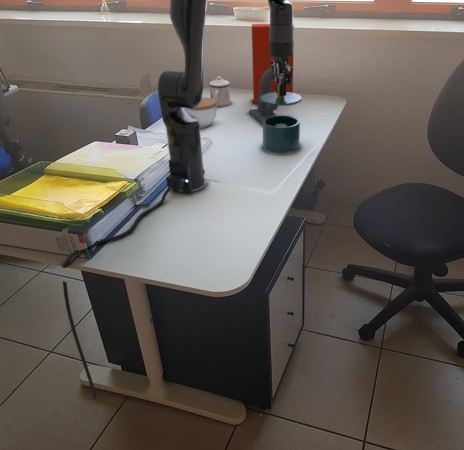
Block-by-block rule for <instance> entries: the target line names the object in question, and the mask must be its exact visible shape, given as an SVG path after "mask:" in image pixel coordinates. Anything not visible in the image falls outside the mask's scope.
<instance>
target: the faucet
mask: <svg viewBox="0 0 464 450" xmlns="http://www.w3.org/2000/svg"><path fill="white" fill-rule="evenodd" d="M273 80H274V79H273V75H272V70H271V68H270V69H268V70H267V71H266V72H265V73H264V74H263V75H262V77H261V80H260V87H259V88H260V94H259V95H258V104H257V108H253V109H252V108H251V109H250V110H248V115H250V116H251V117H252V118H254V120H256V121H257V122H258V123H259V124H260V125H261V126H263V120H264V119H265V118H267V117H271V116H278V115H277V114H276V113H274V112H275V111H276V110H277V109H278V108H279V105H270V104H266V103H264V102H262V101H261V96H262V95H264V94H267V93H271V82H272V81H273ZM291 84H292V78H291V80H290V84H286V85H291Z"/></svg>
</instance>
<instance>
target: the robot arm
mask: <svg viewBox="0 0 464 450" xmlns="http://www.w3.org/2000/svg"><path fill="white" fill-rule="evenodd" d="M267 3H268V6H269V24H270V29H269V54H270V55H271V56H274V60H271V61H270V64H271V70H272V75H273V79H275V82H276V93H277V94H278V82H279V84H280V85H279V95H280V96H286V84H290V80H291V76H292V72H293V73H294V67H293V68H290V67H289V59H288V58H289V56H292V55H293V56H294V50H293V36H294V37H295V30H294V31H293V25H294V6H293V3H291V2H290V1H288V0H267ZM207 9H208V0H169V17H170V21H171V24H172V26H173V29H174V31H175V33H176V35H177V37H178V39H179V42H180V44H181V47H182V50H183V56H184V71H182V70H172V69H171V70H170V69H169V70H168V69H166V70H163V71H162V72H161V73H160V75H159V78H158V80H157V96H158V101H159V107H160V111H161V117H162V122H163V125H164V127H165V130H166V137H167V138H166V139H167V147H168V154H169V155H168V156H169V160H168V167H169V168H168V169H169V175H168V176H166V177H165V178H166V179H165V180H166V186H167V189H166V190H165V191H164V193H163V194H162V197H161V200H159V202H158V203H157V204H156V205H154V206H152V207H150V208H148V209H146V210H145V211H143V212H141V214H139V215H138V216H137V217H136V219H135V220H134V222H133V223H132V225H131V226H130V227H129V228H128V229H127V230H126V231H124V232H121V233H120V234H117V235H114V236H110V237H107V238H102V239H99V240H100V241H98V240H95V241H96V242H95V241H94V242H95V243H94V244H93V245H92V246H91V247H93V246H96V245H100V244H102V243H107V242H111V241H115V240H118V239H121V238H123V237H125V236H127V235H129V234H130V233H131V232H132V231H133V230H134V229H135V228H136V227H137V225H138V223H139V221H140V220H141V219H142V218H143V217H144V216H146V215H148V214H149V213H151V212H153V211H154V210H156V209H157V208H159V207H160V206H161V205H162V204H163V203H164V201H166V198H167V196H168V193H169V192H170V191H175V192H181V193H184V194H191V193H194V192H198V191H200V190H202V189H203V188H204V187H205V186H206V181H205V175H206V171H205V169H204V161H203V150H202V149H203V148H202V137H201V128H200V125H199V120H198V119H197V118H196V117H194V116H193V115H191V114H189V113H188V112H187V111H186V110H185V109H184V108H196V107H197V106H198V105H199V104H200V102H201V99H202V97H203V93H204V42H205V41H204V40H205V29H206V28H205V27H206V19H207V18H206V17H207ZM83 251H84V250H83V249H82V250H80V251H79V250H77V249H75V250H74V251H72V252H71V253H70V254H69V255H68V256H67V258H66V259H65V261H64V262H63V265H62V269H66V268H67V267H68V266H69V263H70V262H71V260H72V259H73V257H74V256H75V255H77V254H78V253H81V252H83ZM62 288H63V297H64V303H65V309H66V312H67V317H68V322H69V325H70V328H71V332H72V335H73V338H74V342H75V345H76V348H77V350H78V351H77V352H78V354H79V357H80V359H81V363H82V365H83V368H84V371H85V374H86V377H87V380H88V383H89V386H90V390H91V393H92V396H93V399H97V398H98V396H97V393H96V389H95V386H94V382H93V379H92V376H91V373H90V370H89V367H88V364H87V360H86V357H85V355H84V352H83V349H82V345H81V343H80V340H79V337H78V333H77V329H76V327H75V322H74V319H73V314H72V310H71V305H70V298H69V292H68V284H67V282H66V281H64V280H62Z"/></svg>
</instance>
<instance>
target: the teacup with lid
mask: <svg viewBox="0 0 464 450" xmlns="http://www.w3.org/2000/svg"><path fill="white" fill-rule="evenodd" d="M208 85H209V92H210V98H212V99H215V100H216V107H225V106H229V105H230V104H231V82H230V81H229V80H226V79H224V78H222V76H217V77H216V79H214V80H212V81H210V82H209V84H208Z"/></svg>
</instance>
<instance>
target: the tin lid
mask: <svg viewBox="0 0 464 450" xmlns="http://www.w3.org/2000/svg"><path fill="white" fill-rule="evenodd" d="M279 85H280V84H279V82H278V94H277V93H276V92H272V93H267V94H264V95H262V96H261V101H262V102H264V103H266V104H270V105H278V106H291V105H295V104H298V103H300V102H302V100H303V99H302V96H301V95H300V94H298V93H295V92H293V93H291V92H286V96H280V95H279Z"/></svg>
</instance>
